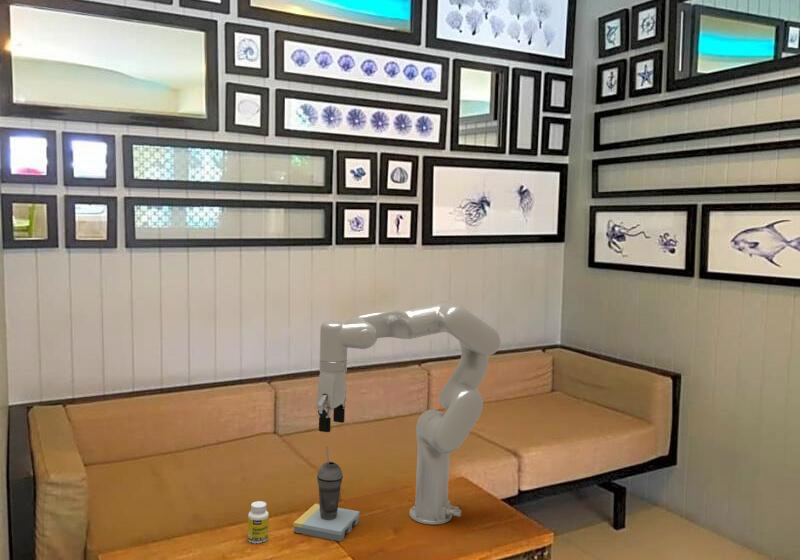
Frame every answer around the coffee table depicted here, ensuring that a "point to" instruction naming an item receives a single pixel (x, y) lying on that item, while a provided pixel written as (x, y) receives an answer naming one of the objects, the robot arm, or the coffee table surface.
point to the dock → (326, 523)
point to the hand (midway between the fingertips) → (331, 426)
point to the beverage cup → (329, 488)
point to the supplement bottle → (258, 523)
